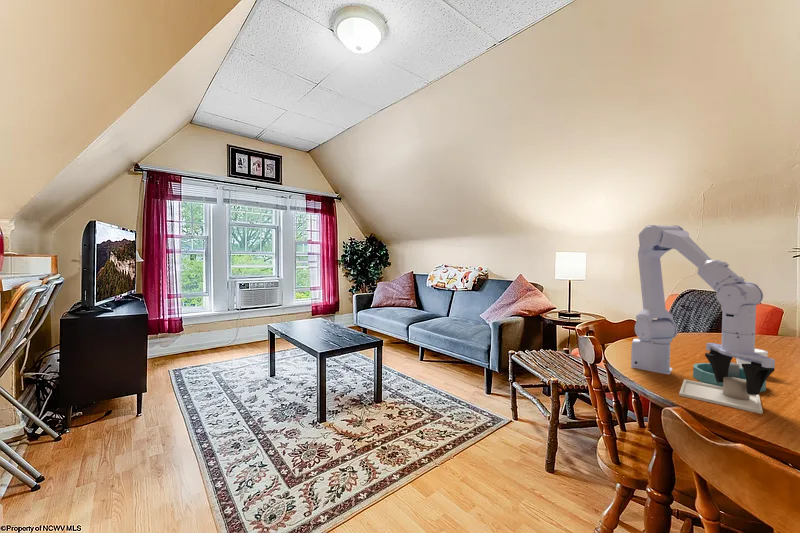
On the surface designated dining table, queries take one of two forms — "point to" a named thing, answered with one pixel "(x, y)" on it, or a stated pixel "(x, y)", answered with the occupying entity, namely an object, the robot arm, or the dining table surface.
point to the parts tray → (718, 396)
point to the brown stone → (735, 388)
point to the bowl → (707, 376)
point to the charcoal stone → (733, 370)
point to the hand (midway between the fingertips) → (736, 387)
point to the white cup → (750, 362)
